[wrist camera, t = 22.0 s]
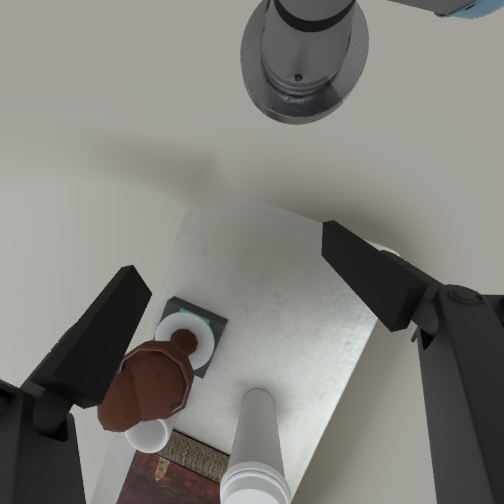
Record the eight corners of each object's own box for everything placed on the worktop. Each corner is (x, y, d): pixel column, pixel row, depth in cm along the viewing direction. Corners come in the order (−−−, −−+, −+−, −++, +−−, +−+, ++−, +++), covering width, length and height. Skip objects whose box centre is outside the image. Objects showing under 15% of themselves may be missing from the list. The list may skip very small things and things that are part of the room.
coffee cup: (240, 425, 38) (224, 550, 23) (231, 384, 37) (208, 485, 22) (285, 421, 37) (299, 548, 22) (277, 379, 36) (285, 480, 21)
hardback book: (128, 484, 41) (110, 518, 36) (154, 419, 39) (137, 446, 34) (243, 539, 40) (239, 582, 35) (275, 475, 38) (277, 512, 33)
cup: (151, 361, 38) (120, 395, 30) (187, 363, 37) (166, 398, 29) (154, 407, 39) (125, 452, 31) (189, 410, 38) (169, 456, 30)
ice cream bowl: (168, 375, 34) (94, 481, 20) (148, 322, 34) (56, 390, 19) (219, 362, 33) (181, 464, 18) (199, 307, 33) (144, 367, 18)
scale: (173, 296, 36) (165, 301, 33) (227, 319, 36) (224, 327, 33) (155, 346, 37) (145, 356, 35) (207, 369, 37) (201, 381, 34)
